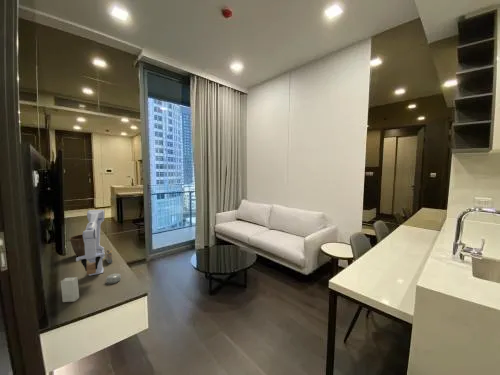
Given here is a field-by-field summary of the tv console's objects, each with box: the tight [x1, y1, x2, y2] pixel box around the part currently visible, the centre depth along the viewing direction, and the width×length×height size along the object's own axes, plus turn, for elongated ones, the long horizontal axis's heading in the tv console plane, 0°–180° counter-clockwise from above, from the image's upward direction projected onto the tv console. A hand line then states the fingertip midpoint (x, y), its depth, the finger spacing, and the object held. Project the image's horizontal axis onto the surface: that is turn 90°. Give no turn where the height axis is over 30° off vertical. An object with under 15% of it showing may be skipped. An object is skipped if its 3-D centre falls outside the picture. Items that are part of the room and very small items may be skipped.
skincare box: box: [60, 276, 80, 303], centre depth 118 cm, size 6×4×12 cm
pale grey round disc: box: [105, 273, 122, 285], centre depth 140 cm, size 8×8×3 cm
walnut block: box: [86, 262, 96, 276], centre depth 136 cm, size 4×4×6 cm
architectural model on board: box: [104, 249, 113, 264], centre depth 171 cm, size 11×3×10 cm, turn 42°
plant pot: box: [69, 233, 85, 257], centre depth 183 cm, size 15×15×16 cm
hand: (91, 269), depth 137 cm, fingers closed on walnut block, 4 cm apart
